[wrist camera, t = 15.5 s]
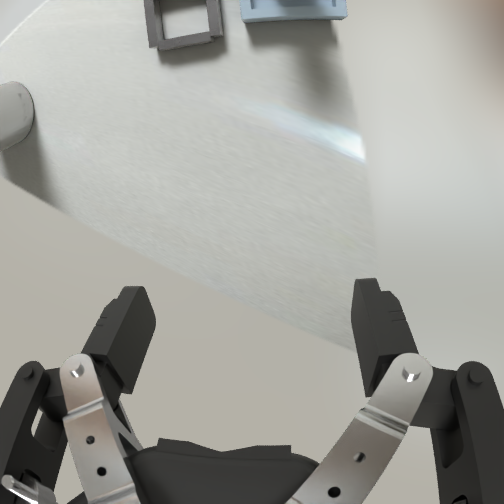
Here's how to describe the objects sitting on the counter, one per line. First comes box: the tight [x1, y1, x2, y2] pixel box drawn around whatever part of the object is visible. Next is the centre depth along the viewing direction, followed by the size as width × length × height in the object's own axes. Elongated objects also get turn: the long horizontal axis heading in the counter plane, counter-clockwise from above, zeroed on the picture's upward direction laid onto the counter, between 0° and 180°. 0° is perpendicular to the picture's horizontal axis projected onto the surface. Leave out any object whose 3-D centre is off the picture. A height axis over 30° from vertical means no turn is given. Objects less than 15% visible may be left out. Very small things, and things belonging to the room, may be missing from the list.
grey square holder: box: [144, 0, 223, 51], centre depth 26 cm, size 7×7×2 cm
